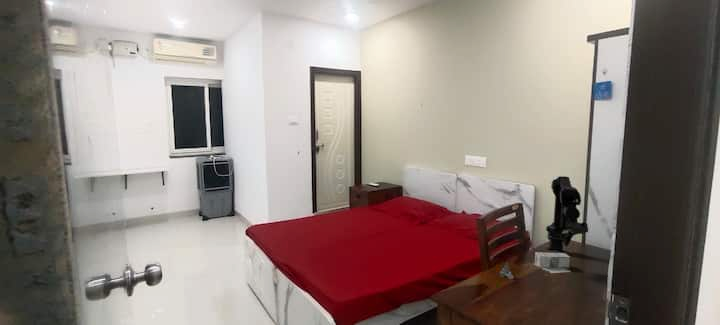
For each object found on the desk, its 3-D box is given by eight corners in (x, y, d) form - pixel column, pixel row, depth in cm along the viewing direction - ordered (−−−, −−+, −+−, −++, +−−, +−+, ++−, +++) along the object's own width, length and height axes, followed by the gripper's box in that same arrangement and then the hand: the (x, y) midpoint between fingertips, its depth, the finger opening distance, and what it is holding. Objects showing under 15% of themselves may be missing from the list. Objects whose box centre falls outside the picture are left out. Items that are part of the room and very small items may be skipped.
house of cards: (486, 276, 164) (486, 260, 163) (501, 273, 167) (502, 258, 166) (499, 284, 155) (500, 268, 154) (515, 281, 158) (516, 265, 157)
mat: (533, 264, 177) (533, 263, 177) (553, 262, 179) (553, 261, 179) (550, 274, 166) (550, 273, 165) (571, 272, 168) (571, 271, 167)
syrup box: (565, 252, 176) (534, 251, 177) (570, 257, 170) (539, 256, 172) (564, 263, 176) (534, 262, 178) (570, 268, 171) (538, 267, 172)
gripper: (563, 220, 160) (561, 253, 162) (598, 218, 163) (596, 250, 165) (546, 213, 171) (544, 245, 173) (579, 212, 174) (577, 242, 176)
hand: (566, 246), depth 171 cm, fingers closed
